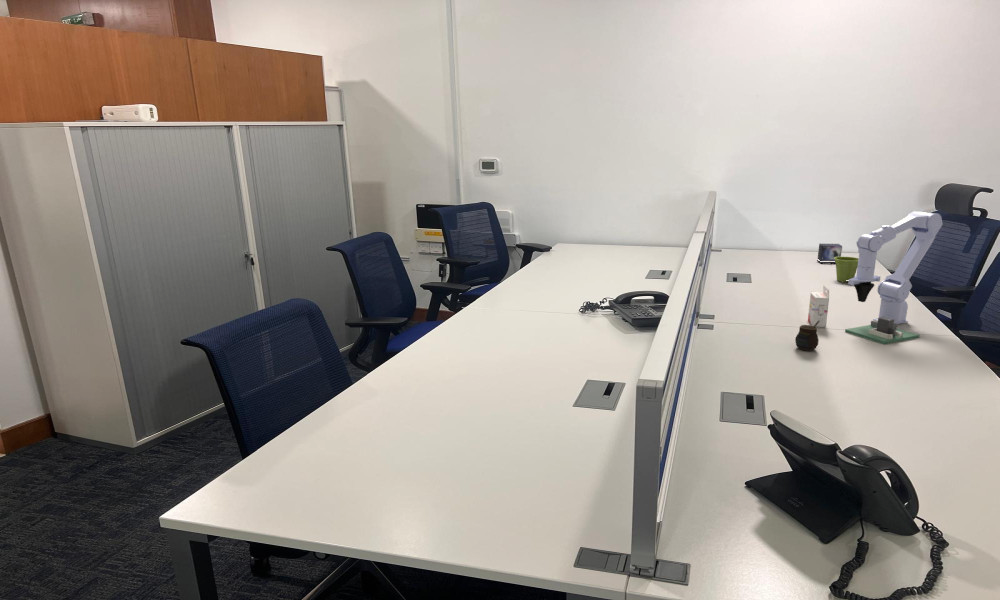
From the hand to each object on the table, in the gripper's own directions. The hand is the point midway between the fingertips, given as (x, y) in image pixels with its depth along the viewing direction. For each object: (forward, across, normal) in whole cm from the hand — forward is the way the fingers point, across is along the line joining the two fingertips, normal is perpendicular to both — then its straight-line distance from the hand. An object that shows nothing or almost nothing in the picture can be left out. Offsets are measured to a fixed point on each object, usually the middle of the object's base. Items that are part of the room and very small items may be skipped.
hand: (861, 301), depth 247 cm
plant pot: (+10, -58, -55) cm, 81 cm away
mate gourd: (+10, +40, +12) cm, 43 cm away
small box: (+10, -87, -90) cm, 126 cm away
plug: (+8, +5, +14) cm, 17 cm away
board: (+9, +3, +12) cm, 16 cm away
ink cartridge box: (+10, +13, -8) cm, 18 cm away
